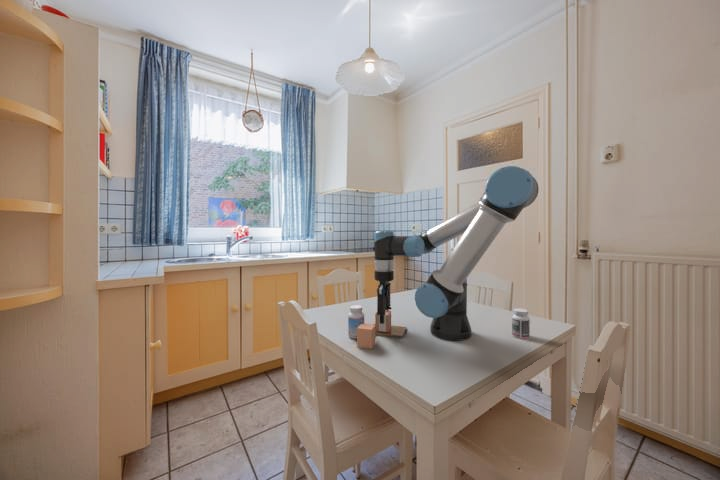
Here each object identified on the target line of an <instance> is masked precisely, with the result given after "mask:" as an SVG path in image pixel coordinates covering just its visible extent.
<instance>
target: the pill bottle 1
mask: <svg viewBox="0 0 720 480" xmlns="http://www.w3.org/2000/svg"><path fill="white" fill-rule="evenodd" d="M349 310H350V311H349V312H348V314H347V315H348V316H347V317H348V318H347V321H348V322H347V326H348V329H347V331H348V337H349V338H350V339H356V340H357V328H358V327H359V326H360V324H361V323H363V324H365V313H364V312H363V306H362V305H359V304H356V305H351V306H349Z"/></svg>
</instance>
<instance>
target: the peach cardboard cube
mask: <svg viewBox="0 0 720 480" xmlns="http://www.w3.org/2000/svg"><path fill="white" fill-rule="evenodd" d="M373 324H374V323H371V324H370V323H364V324H363V323H361V324H360V326H359V327H358V328H357V339H356V343H357V344H356V346H357V348H360V349H361V348H362V349H369V350H372V349H373V348H374V346H375V345H376V343H377V341H376V338H377V337H376V336H377V335H376V325H373Z"/></svg>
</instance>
